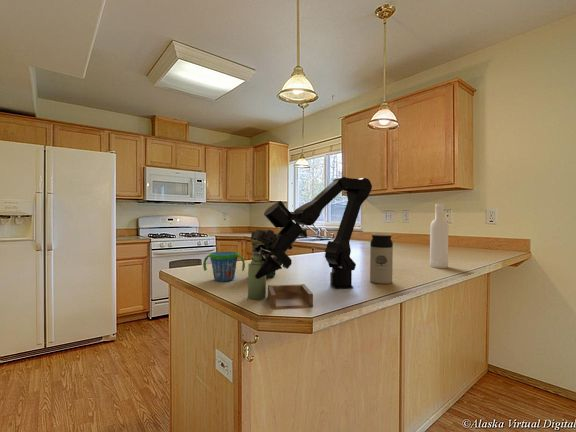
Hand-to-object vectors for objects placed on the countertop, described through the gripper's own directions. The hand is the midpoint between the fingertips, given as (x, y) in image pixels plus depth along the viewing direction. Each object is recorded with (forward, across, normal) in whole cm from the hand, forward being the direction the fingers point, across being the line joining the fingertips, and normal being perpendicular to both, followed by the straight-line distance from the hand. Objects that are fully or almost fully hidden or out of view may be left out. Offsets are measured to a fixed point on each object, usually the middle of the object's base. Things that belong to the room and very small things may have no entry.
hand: (252, 276), depth 94 cm
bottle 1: (+4, 0, +6) cm, 7 cm away
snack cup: (+6, -28, +4) cm, 29 cm away
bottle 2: (-65, -12, +75) cm, 100 cm away
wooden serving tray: (-1, +8, +10) cm, 13 cm away
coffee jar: (-5, -27, +15) cm, 32 cm away
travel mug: (-31, 0, +41) cm, 51 cm away
